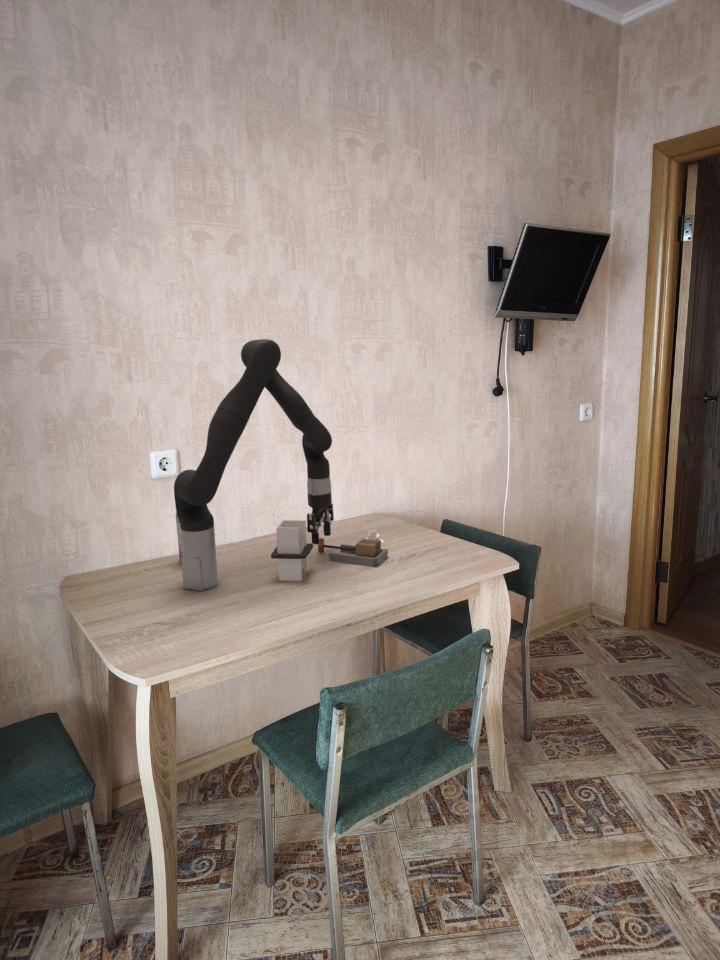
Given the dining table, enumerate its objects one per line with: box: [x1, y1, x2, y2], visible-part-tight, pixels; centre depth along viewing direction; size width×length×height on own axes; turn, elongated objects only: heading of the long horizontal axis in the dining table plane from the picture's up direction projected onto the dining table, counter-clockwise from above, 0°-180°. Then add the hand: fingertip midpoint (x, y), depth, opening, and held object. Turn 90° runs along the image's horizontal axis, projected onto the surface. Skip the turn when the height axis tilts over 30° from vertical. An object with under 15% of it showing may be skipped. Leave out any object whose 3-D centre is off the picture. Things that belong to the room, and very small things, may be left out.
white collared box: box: [270, 519, 314, 582], centre depth 194 cm, size 25×24×16 cm
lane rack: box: [328, 543, 389, 568], centre depth 208 cm, size 10×16×2 cm, turn 67°
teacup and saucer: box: [364, 529, 384, 544], centre depth 225 cm, size 9×8×4 cm
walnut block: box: [317, 537, 382, 558], centre depth 209 cm, size 6×20×6 cm, turn 67°
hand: (321, 539), depth 212 cm, fingers open, 8 cm apart
